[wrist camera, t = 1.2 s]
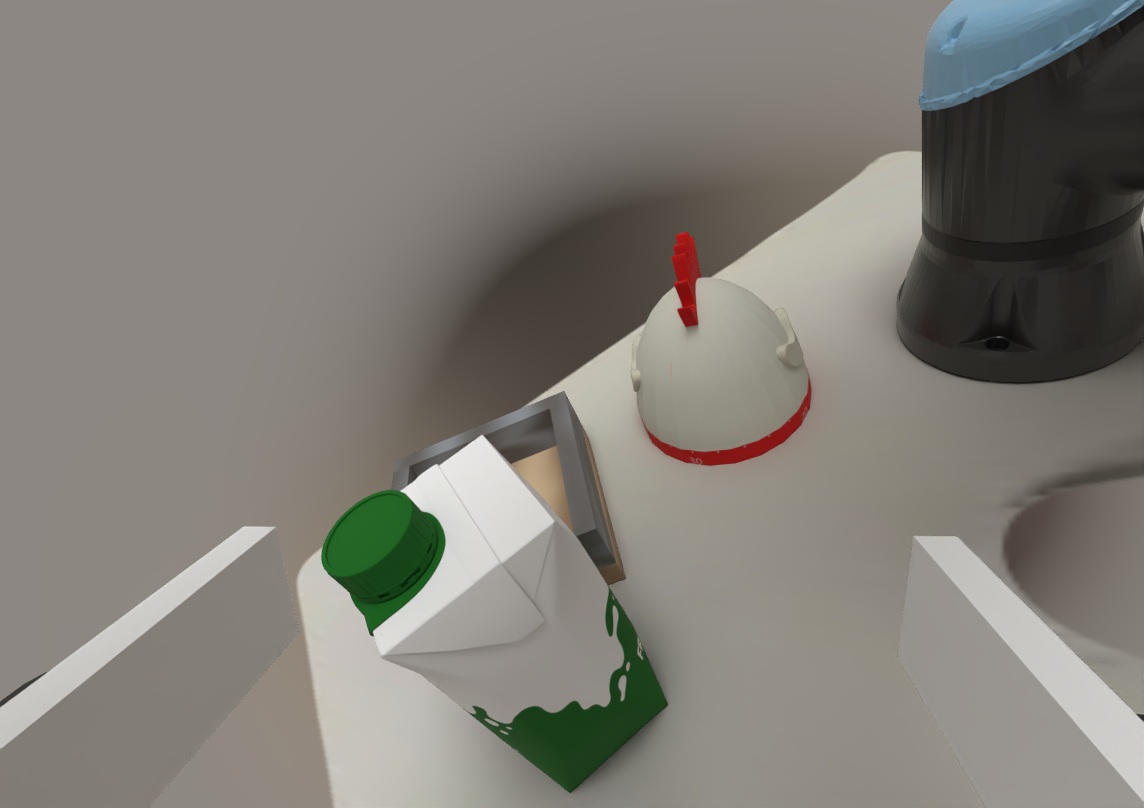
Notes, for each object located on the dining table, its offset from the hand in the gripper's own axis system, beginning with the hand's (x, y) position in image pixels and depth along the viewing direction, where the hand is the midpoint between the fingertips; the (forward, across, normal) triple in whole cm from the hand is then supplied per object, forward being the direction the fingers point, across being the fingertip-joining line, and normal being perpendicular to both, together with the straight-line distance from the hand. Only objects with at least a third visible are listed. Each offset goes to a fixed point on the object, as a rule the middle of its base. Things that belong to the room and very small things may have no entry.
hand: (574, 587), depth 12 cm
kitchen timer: (+38, +8, -8) cm, 39 cm away
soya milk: (+18, -2, -20) cm, 27 cm away
